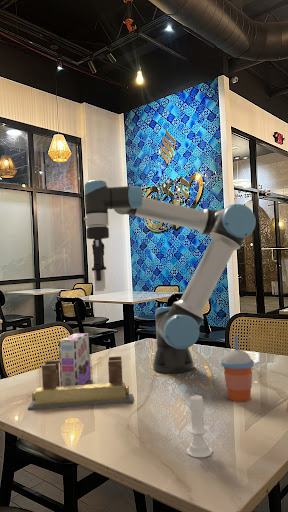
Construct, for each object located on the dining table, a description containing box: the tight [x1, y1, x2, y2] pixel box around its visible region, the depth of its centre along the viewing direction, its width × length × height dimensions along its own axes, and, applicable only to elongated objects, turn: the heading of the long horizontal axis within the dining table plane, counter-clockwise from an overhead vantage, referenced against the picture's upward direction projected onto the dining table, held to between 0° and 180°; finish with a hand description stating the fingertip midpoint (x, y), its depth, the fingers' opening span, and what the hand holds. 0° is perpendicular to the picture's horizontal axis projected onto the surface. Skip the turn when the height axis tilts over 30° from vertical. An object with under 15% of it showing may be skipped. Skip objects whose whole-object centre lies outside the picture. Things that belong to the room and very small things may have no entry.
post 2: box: [107, 355, 124, 383], centre depth 130 cm, size 6×8×10 cm
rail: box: [31, 381, 130, 405], centre depth 122 cm, size 28×4×4 cm, turn 93°
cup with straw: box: [221, 334, 255, 402], centre depth 119 cm, size 9×9×18 cm
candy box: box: [58, 332, 92, 386], centre depth 140 cm, size 14×6×16 cm, turn 168°
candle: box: [186, 393, 213, 459], centre depth 87 cm, size 5×5×12 cm
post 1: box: [41, 359, 61, 388], centre depth 129 cm, size 6×8×10 cm
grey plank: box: [27, 393, 134, 411], centre depth 122 cm, size 30×6×1 cm, turn 93°
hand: (100, 289), depth 140 cm, fingers open, 13 cm apart
